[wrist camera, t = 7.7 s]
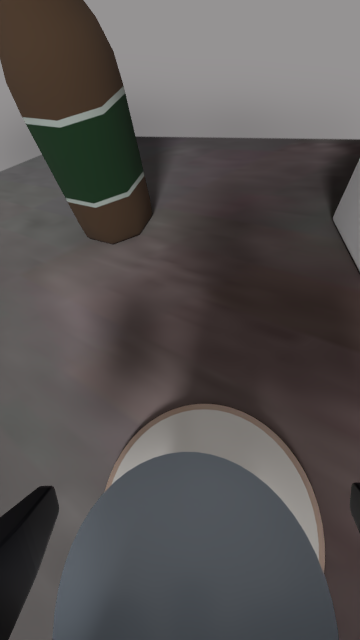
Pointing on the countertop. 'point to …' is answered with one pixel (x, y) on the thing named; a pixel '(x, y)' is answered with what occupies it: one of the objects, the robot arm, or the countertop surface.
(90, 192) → the beer bottle
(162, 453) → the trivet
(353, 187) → the medicine bottle
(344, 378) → the countertop surface
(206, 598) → the grey-topped white cylinder
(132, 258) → the countertop surface
